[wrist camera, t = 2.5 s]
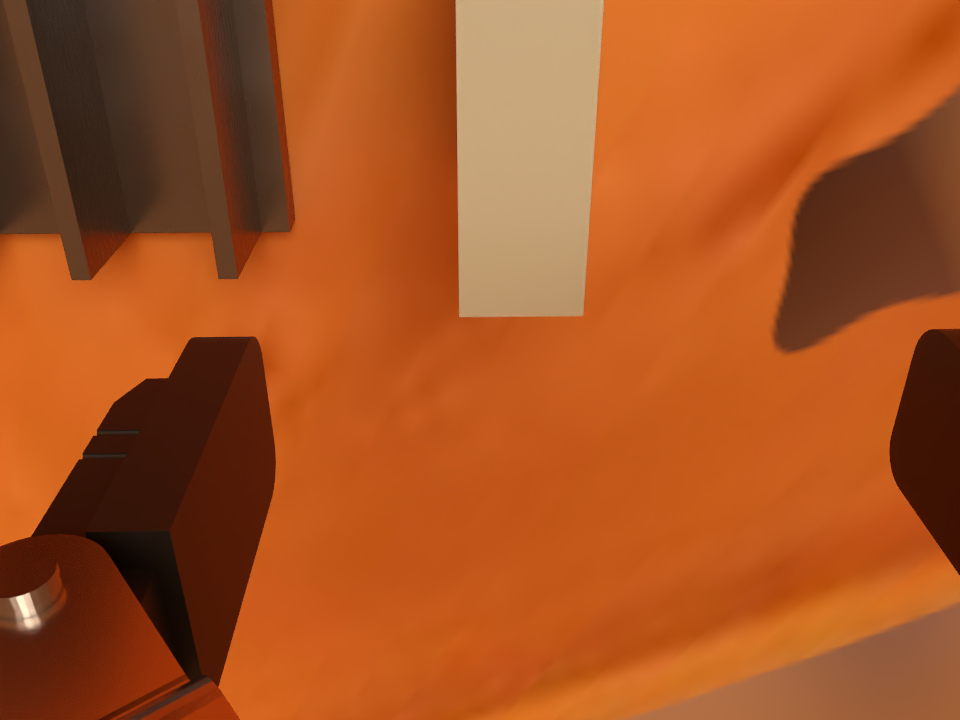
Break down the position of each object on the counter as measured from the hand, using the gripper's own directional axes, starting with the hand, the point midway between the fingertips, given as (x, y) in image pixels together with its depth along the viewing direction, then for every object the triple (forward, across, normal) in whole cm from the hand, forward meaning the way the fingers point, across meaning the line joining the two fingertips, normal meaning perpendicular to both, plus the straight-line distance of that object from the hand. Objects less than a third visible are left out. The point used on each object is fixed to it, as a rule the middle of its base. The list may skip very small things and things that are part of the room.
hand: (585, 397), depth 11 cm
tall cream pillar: (+22, 0, 0) cm, 22 cm away
